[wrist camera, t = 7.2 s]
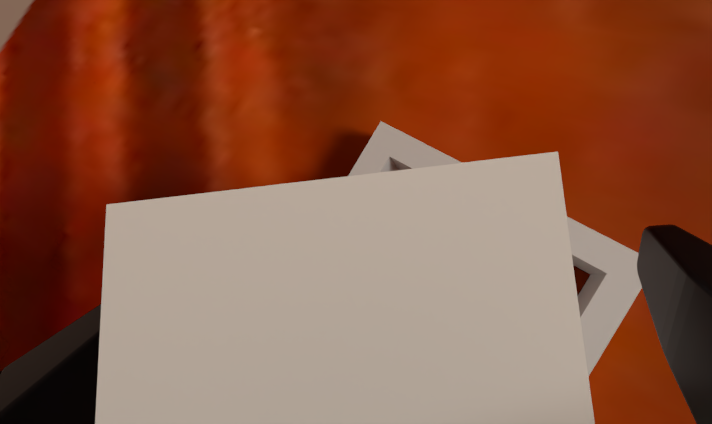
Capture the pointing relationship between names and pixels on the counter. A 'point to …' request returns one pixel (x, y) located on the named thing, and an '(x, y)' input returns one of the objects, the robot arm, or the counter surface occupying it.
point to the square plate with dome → (589, 248)
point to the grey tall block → (347, 302)
